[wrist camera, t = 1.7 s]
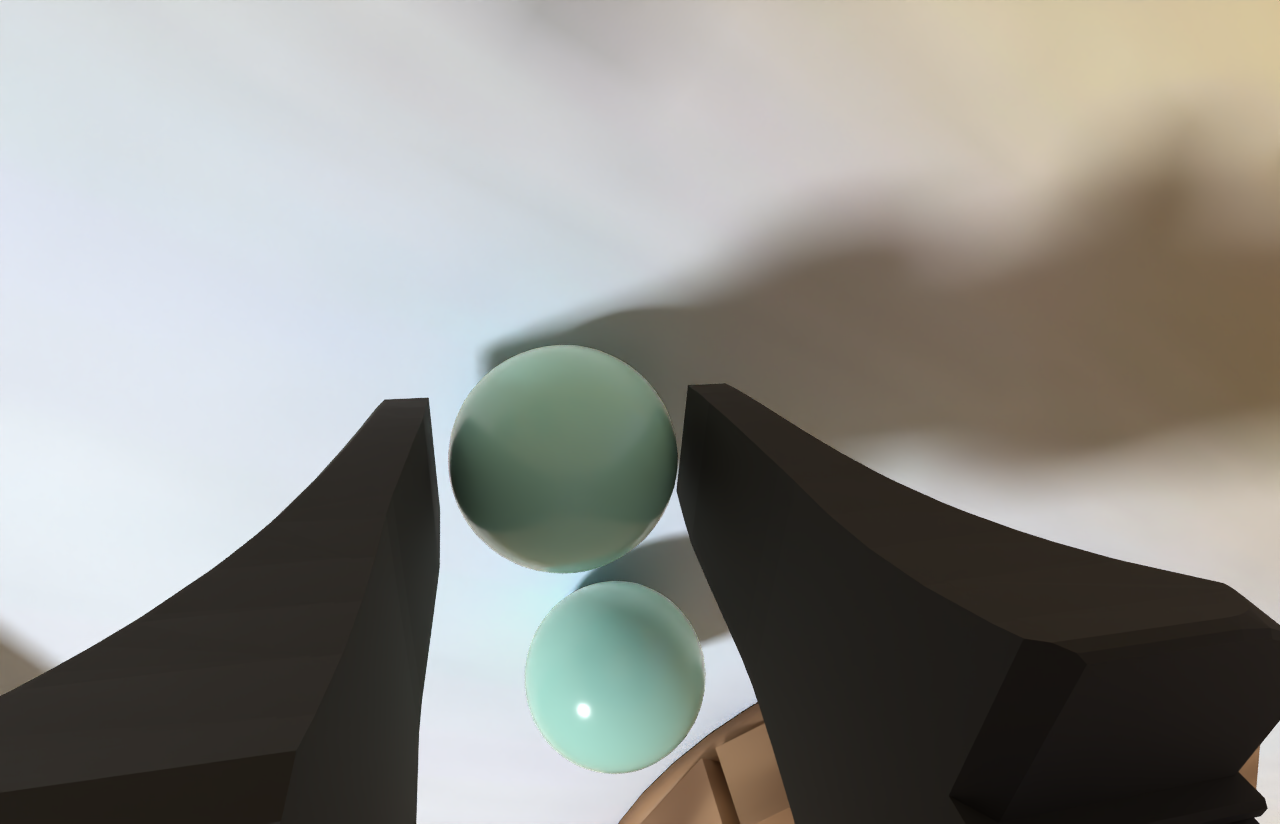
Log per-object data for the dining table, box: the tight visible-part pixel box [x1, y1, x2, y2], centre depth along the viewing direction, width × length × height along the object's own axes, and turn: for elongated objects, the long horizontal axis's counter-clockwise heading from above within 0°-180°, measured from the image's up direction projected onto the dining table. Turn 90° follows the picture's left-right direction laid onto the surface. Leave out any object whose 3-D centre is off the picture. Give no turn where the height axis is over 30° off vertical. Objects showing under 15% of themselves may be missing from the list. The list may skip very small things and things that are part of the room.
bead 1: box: [448, 345, 678, 573], centre depth 11 cm, size 3×3×3 cm
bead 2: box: [525, 581, 706, 774], centre depth 13 cm, size 3×3×3 cm
